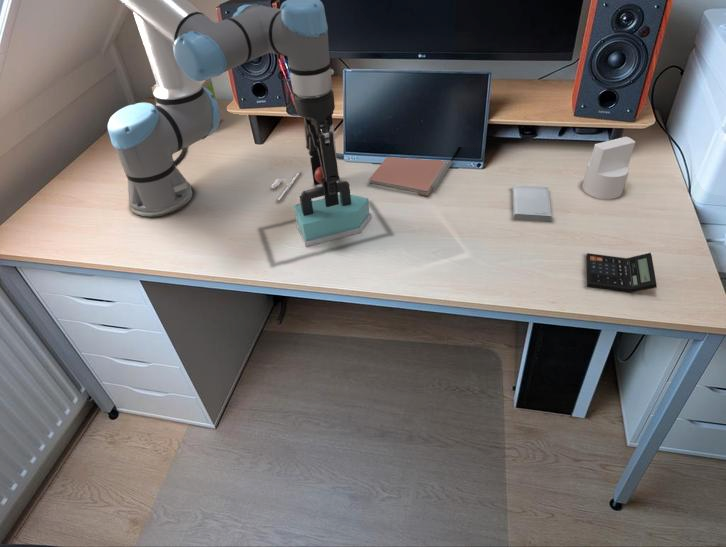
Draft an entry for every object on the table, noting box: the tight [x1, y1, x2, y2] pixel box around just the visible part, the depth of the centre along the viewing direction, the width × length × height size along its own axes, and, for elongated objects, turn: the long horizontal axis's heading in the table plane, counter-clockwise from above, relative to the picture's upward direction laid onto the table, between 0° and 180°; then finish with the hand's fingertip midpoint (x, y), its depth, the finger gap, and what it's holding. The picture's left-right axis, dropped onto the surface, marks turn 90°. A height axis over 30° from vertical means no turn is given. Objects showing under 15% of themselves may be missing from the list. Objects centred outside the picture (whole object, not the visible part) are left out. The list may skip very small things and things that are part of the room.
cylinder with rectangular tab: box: [581, 136, 636, 200], centre depth 120 cm, size 9×9×12 cm
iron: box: [294, 167, 373, 248], centre depth 113 cm, size 17×9×16 cm, turn 110°
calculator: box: [585, 252, 658, 294], centre depth 101 cm, size 9×12×3 cm
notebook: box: [368, 156, 455, 197], centre depth 137 cm, size 27×17×2 cm, turn 155°
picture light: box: [270, 171, 300, 201], centre depth 133 cm, size 14×4×2 cm, turn 163°
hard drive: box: [511, 184, 553, 223], centre depth 121 cm, size 2×8×12 cm
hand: (326, 193), depth 112 cm, fingers open, 9 cm apart
